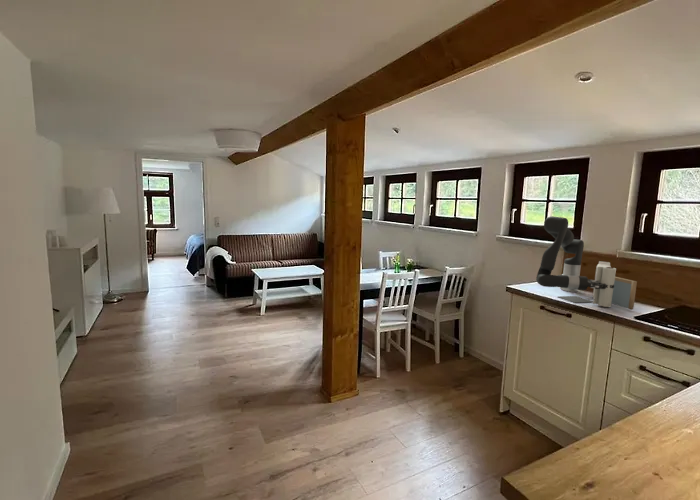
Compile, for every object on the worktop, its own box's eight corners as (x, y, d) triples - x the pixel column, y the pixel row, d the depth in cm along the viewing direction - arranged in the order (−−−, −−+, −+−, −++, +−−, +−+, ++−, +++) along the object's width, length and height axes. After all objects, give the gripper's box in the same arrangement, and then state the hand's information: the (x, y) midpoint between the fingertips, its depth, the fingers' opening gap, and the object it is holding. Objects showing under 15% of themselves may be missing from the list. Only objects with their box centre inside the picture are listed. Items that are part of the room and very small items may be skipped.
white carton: (613, 307, 204) (619, 268, 201) (605, 307, 202) (611, 268, 199) (600, 303, 210) (606, 266, 207) (593, 304, 208) (598, 266, 205)
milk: (603, 299, 222) (608, 263, 218) (592, 297, 226) (596, 261, 223) (607, 298, 225) (612, 262, 222) (596, 296, 230) (600, 260, 227)
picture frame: (601, 300, 214) (604, 275, 212) (604, 300, 215) (607, 275, 213) (630, 309, 197) (634, 281, 195) (634, 309, 198) (638, 281, 196)
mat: (557, 297, 224) (557, 296, 224) (575, 296, 227) (575, 295, 227) (575, 303, 211) (575, 302, 211) (593, 302, 214) (594, 301, 214)
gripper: (581, 278, 201) (618, 281, 196) (573, 273, 214) (608, 276, 209) (579, 292, 202) (616, 295, 197) (572, 286, 215) (606, 289, 210)
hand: (612, 285), depth 203 cm, fingers closed on white carton, 3 cm apart
